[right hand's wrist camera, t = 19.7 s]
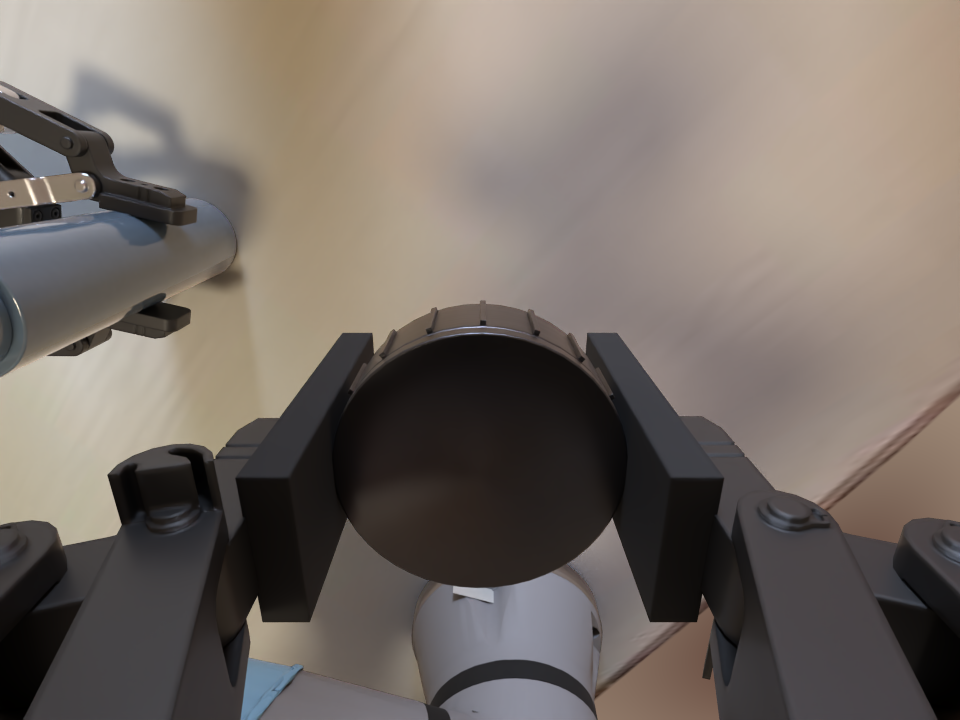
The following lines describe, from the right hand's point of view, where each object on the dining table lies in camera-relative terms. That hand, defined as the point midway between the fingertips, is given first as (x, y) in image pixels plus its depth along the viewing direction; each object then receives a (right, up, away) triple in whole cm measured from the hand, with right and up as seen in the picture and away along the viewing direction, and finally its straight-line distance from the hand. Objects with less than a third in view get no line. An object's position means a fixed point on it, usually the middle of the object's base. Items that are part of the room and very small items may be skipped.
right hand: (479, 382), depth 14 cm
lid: (0, -1, -4) cm, 4 cm away
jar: (-18, +8, +20) cm, 28 cm away
